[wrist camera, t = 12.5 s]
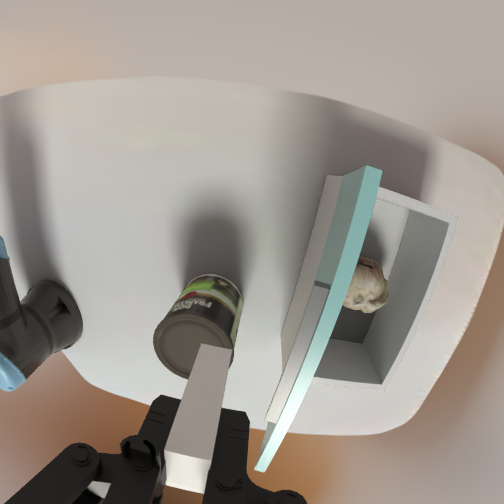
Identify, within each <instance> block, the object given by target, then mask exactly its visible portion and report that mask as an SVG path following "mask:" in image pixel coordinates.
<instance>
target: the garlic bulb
mask: <svg viewBox="0 0 504 504" xmlns="http://www.w3.org/2000/svg"><path fill="white" fill-rule="evenodd" d="M388 298H389V293H388V282H387V280H386V279H385V278H384V275H383V270H382V267H381V265H380V264H379V263H378V262H376V261H375V260H371V258H366V257H361V256H359V258H358V261H357V264H356V267H355V270H354V273H353V276H352V279H351V282H350V285H349V288H348V291H347V294H346V296H345V299H344V302H343V306H345V307H347V308H350V309H353V310H361V311H362V312H364V313H372V312H374V311H376V310H377V309H379V308H381V307H382V306H383V305H385V304H386V302H387V301H388Z"/></svg>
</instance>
